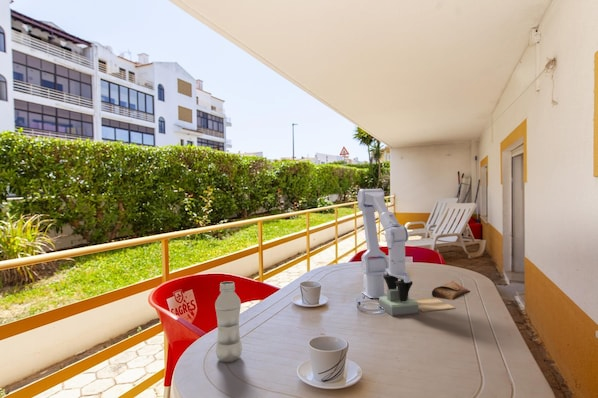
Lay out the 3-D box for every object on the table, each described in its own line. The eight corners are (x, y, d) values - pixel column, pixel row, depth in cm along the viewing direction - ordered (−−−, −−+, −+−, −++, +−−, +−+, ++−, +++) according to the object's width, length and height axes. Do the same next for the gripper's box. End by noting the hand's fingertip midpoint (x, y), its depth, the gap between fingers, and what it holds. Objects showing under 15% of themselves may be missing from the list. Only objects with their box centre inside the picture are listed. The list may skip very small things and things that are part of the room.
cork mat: (403, 301, 136) (403, 300, 136) (433, 298, 139) (433, 297, 139) (422, 312, 124) (422, 311, 124) (455, 308, 126) (455, 307, 126)
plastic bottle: (218, 354, 95) (215, 280, 95) (243, 353, 95) (241, 279, 95) (214, 366, 88) (211, 287, 88) (241, 364, 89) (239, 285, 89)
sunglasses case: (452, 300, 135) (443, 284, 138) (437, 306, 140) (429, 290, 142) (471, 290, 148) (462, 275, 150) (456, 296, 152) (448, 282, 155)
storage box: (379, 307, 130) (378, 299, 130) (403, 304, 132) (403, 296, 132) (392, 316, 120) (391, 307, 120) (418, 313, 123) (418, 304, 123)
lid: (379, 301, 130) (378, 287, 130) (403, 298, 132) (403, 285, 132) (391, 309, 120) (391, 294, 120) (418, 306, 123) (417, 292, 123)
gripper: (418, 263, 120) (419, 302, 120) (397, 256, 134) (398, 291, 134) (399, 264, 118) (400, 304, 119) (380, 257, 133) (381, 293, 133)
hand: (397, 297), depth 126 cm, fingers open, 7 cm apart
